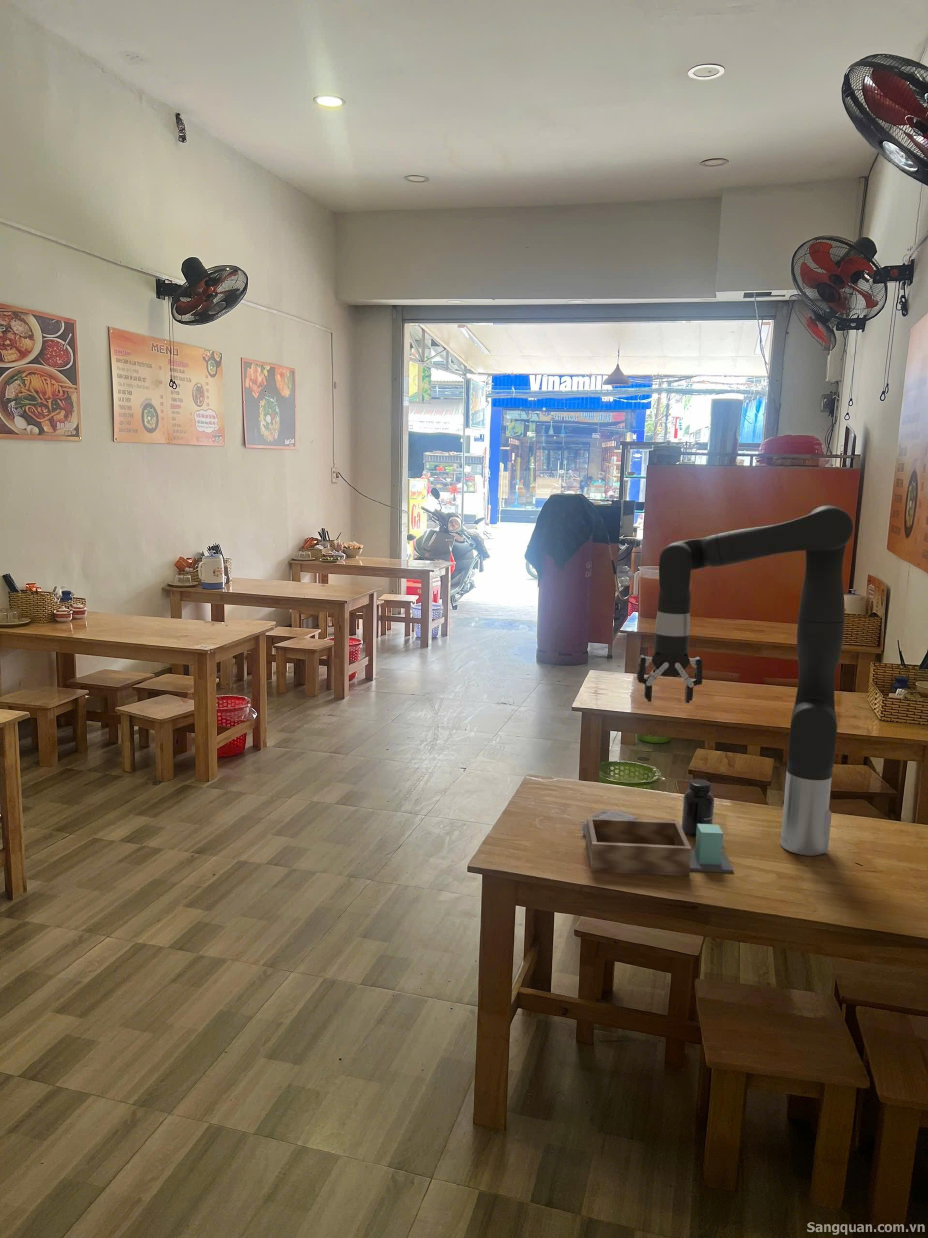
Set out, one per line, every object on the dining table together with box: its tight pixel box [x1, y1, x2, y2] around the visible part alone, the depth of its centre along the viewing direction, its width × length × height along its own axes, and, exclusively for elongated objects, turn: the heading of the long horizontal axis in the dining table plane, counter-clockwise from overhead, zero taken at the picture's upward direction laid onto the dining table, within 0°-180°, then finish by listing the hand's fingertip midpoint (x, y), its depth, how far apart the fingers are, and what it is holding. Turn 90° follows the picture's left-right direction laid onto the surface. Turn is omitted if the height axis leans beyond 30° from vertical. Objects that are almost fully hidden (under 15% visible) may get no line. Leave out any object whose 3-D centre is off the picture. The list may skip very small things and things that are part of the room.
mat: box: [690, 849, 735, 874], centre depth 186 cm, size 9×9×1 cm
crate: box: [585, 817, 692, 877], centre depth 186 cm, size 20×14×6 cm
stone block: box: [582, 810, 638, 837], centre depth 200 cm, size 12×5×10 cm
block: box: [694, 824, 724, 865], centre depth 185 cm, size 4×4×7 cm
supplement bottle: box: [681, 778, 715, 838], centre depth 200 cm, size 7×7×12 cm
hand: (667, 701), depth 199 cm, fingers open, 8 cm apart
